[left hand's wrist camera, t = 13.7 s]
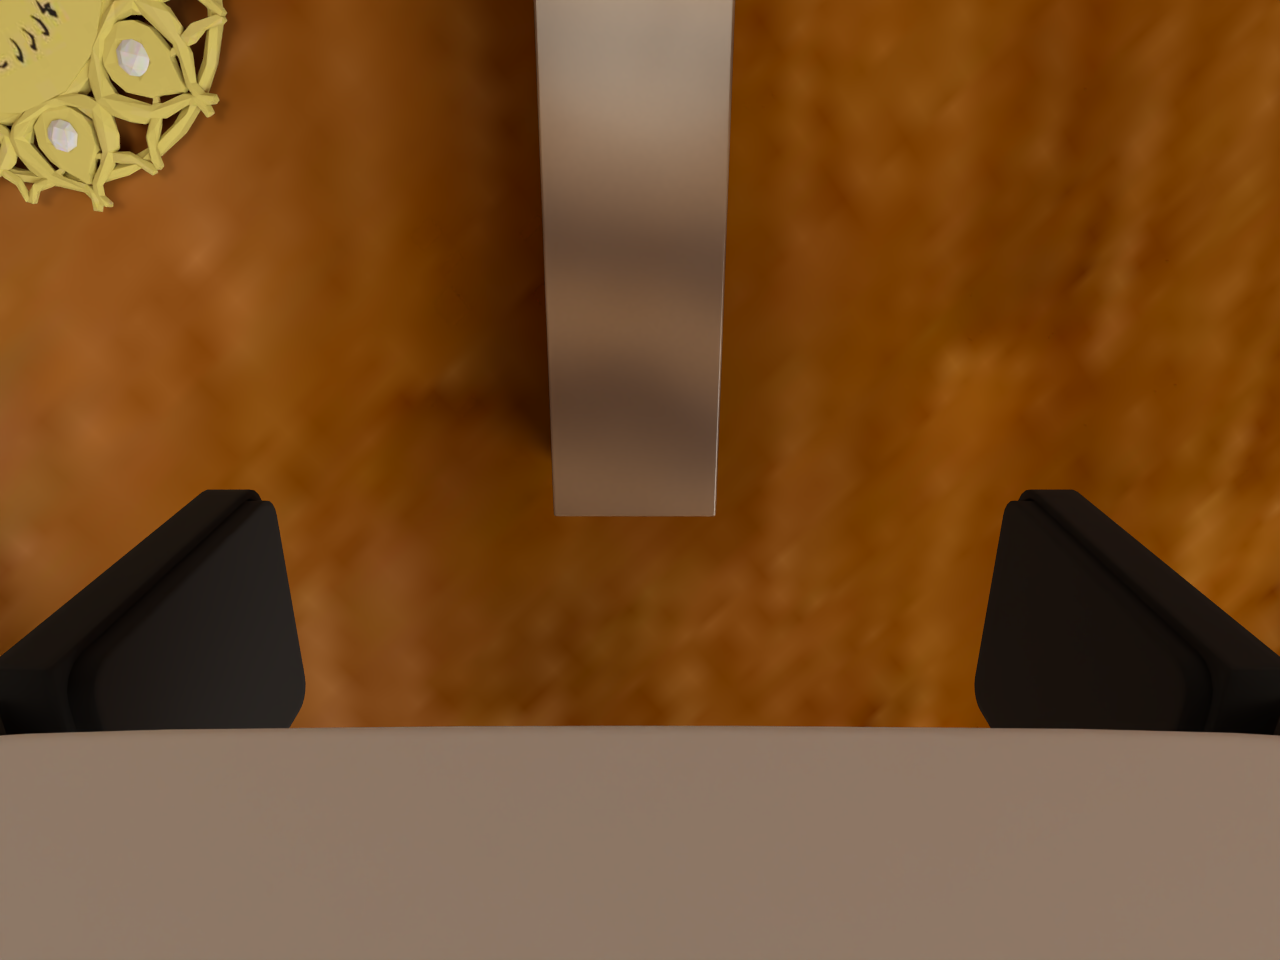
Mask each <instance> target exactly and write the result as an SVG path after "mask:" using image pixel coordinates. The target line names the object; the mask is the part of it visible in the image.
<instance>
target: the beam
mask: <svg viewBox="0 0 1280 960" xmlns="http://www.w3.org/2000/svg"><path fill="white" fill-rule="evenodd" d="M533 1H534V26H535V52H536V77H537V102H538V127H539V152H540V177H541V202H542V227H543V253H544V278H545V303H546V328H547V353H548V378H549V403H550V428H551V454H552V479H553V504H554V515H555V516H715V515H716V495H717V469H718V442H719V416H720V389H721V363H722V336H723V309H724V283H725V256H726V230H727V203H728V177H729V150H730V124H731V97H732V71H733V44H734V18H735V0H533Z"/></svg>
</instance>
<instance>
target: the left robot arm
mask: <svg viewBox="0 0 1280 960" xmlns="http://www.w3.org/2000/svg"><path fill="white" fill-rule="evenodd" d="M304 695H305V675H304V670H303V664H302V658H301V652H300V647H299V641H298V635H297V629H296V624H295V618H294V612H293V606H292V601H291V595H290V589H289V583H288V578H287V572H286V566H285V560H284V555H283V549H282V543H281V537H280V532H279V526H278V520H277V515H276V511H275V508H274V506H273V504H272V503H271V502H270V501H262V500H261V498H260V496H259V495H258V494H257V493H256V492H255V491H254V490H206V491H204V492H202V493H201V494H199V495H198V496H197V497H196V498H194V499H193V500H192V501H191V502H190V503H188V504H187V505H186V506H185V507H183V508H182V509H181V510H180V511H178V512H177V513H176V514H175V515H174V516H172V517H171V518H170V519H169V520H167V521H166V522H165V523H164V524H163V525H161V526H160V527H159V528H158V529H156V530H155V531H154V532H153V533H151V534H150V535H149V536H148V537H147V538H145V539H144V540H143V541H142V542H140V543H139V544H138V545H137V546H136V547H134V548H133V549H132V550H131V551H129V552H128V553H127V554H126V555H125V556H123V557H122V558H121V559H120V560H118V561H117V562H116V563H115V564H113V565H112V566H111V567H110V568H109V569H107V570H106V571H105V572H104V573H102V574H101V575H100V576H99V577H98V578H96V579H95V580H94V581H93V582H91V583H90V584H89V585H88V586H86V587H85V588H84V589H83V590H82V591H80V592H79V593H78V594H77V595H75V596H74V597H73V598H72V599H71V600H69V601H68V602H67V603H66V604H64V605H63V606H62V607H61V608H59V609H58V610H57V611H56V612H55V613H53V614H52V615H51V616H50V617H48V618H47V619H46V620H45V621H44V622H42V623H41V624H40V625H39V626H37V627H36V628H35V629H34V630H32V631H31V632H30V633H29V634H28V635H26V636H25V637H24V638H23V639H21V640H20V641H19V642H18V643H17V644H15V645H14V646H13V647H12V648H10V649H9V650H8V651H7V652H5V653H4V654H3V655H2V656H1V657H0V960H1280V657H1279V656H1278V655H1277V654H1276V653H1275V652H1273V651H1272V650H1271V649H1270V648H1268V647H1267V646H1266V645H1265V644H1263V643H1262V642H1261V641H1260V640H1259V639H1257V638H1256V637H1255V636H1254V635H1252V634H1251V633H1250V632H1249V631H1248V630H1246V629H1245V628H1244V627H1243V626H1241V625H1240V624H1239V623H1238V622H1236V621H1235V620H1234V619H1233V618H1232V617H1230V616H1229V615H1228V614H1227V613H1225V612H1224V611H1223V610H1222V609H1221V608H1219V607H1218V606H1217V605H1216V604H1214V603H1213V602H1212V601H1211V600H1209V599H1208V598H1207V597H1206V596H1205V595H1203V594H1202V593H1201V592H1200V591H1198V590H1197V589H1196V588H1195V587H1194V586H1192V585H1191V584H1190V583H1189V582H1187V581H1186V580H1185V579H1184V578H1182V577H1181V576H1180V575H1179V574H1178V573H1176V572H1175V571H1174V570H1173V569H1171V568H1170V567H1169V566H1168V565H1167V564H1165V563H1164V562H1163V561H1162V560H1160V559H1159V558H1158V557H1157V556H1155V555H1154V554H1153V553H1152V552H1151V551H1149V550H1148V549H1147V548H1146V547H1144V546H1143V545H1142V544H1141V543H1140V542H1138V541H1137V540H1136V539H1135V538H1133V537H1132V536H1131V535H1130V534H1129V533H1127V532H1126V531H1125V530H1124V529H1122V528H1121V527H1120V526H1119V525H1117V524H1116V523H1115V522H1114V521H1113V520H1111V519H1110V518H1109V517H1108V516H1106V515H1105V514H1104V513H1103V512H1102V511H1100V510H1099V509H1098V508H1097V507H1095V506H1094V505H1093V504H1092V503H1090V502H1089V501H1088V500H1087V499H1086V498H1084V497H1083V496H1082V495H1081V494H1079V493H1078V492H1076V491H1074V490H1026V491H1025V492H1024V493H1023V494H1021V496H1020V498H1019V500H1018V501H1010V502H1009V503H1008V504H1007V506H1006V508H1005V511H1004V515H1003V520H1002V526H1001V532H1000V537H999V543H998V549H997V555H996V560H995V566H994V572H993V578H992V583H991V589H990V595H989V601H988V606H987V612H986V618H985V624H984V629H983V635H982V641H981V647H980V652H979V658H978V664H977V670H976V675H975V695H976V700H977V704H978V706H979V708H980V710H981V712H982V714H983V716H984V717H985V719H986V721H987V722H988V724H989V726H990V727H991V728H909V727H789V726H455V727H360V728H289V727H290V726H291V724H292V722H293V721H294V719H295V717H296V716H297V714H298V712H299V710H300V708H301V706H302V704H303V700H304Z"/></svg>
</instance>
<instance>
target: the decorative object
mask: <svg viewBox="0 0 1280 960" xmlns="http://www.w3.org/2000/svg"><path fill="white" fill-rule="evenodd" d="M166 1H169V0H0V177H1V176H3V177H4V178H5V179H7V180H8V181H10V182H12V183H13V184H15V185H16V186H17V187H18V189H19V191H20V193H21V194H22V196H23V198H24V199H25V201H26V202H30V203H32V204H37V203H38V199H39V195H40V192H41V191H43V190H46V189H49V188H52V187H54V186H59V187H63V188H67V189H72V190H76V191H81V192H85V193H86V194H87V195H88V196H89V197H90V198H91V199H92V204H93V209H94V211H100V212H103V206H106V207H113V202H112V201H111V200H110V199H109V198H108V197H106V196H105V193H104V187H103V185H104V183H105V182H108V181H112V180H115V179H118V178H122V177H125V176H128V175H130V174H132V173H134V172H136V171H137V170H139V169H141V168H142V169H143V170H145V171H147V172H148V173H150V174H152V175H155V174H157V173H158V171H157V170H162V168H163V167H164V164H163V161H162V158H161V156H163V155H164V154H165V153H166V152H167V151H168V150H169V149H170V148H171V147H172V146H173V145H174V144H175V143H177V142H178V141H179V140H180V139H181V138H182V137H183V136H184V135H185V134H186V133H187V132H188V130H189V129H190V127H191V125H192V124H193V122H194V120H195V119H196V117H197V115H198V114H199V112H200V111H202V112H203V113H204V114H205V115H206V117H210V116H212V115H213V114H214V113H215V112H214V110H213V108H212V106H211V105H213V104H217V103H218V102H219V98H218V96H217V94H211V93H209V91H210V87H211V84H212V81H213V78H214V75H215V72H216V69H217V66H218V62H219V55H220V47H221V40H222V33H223V26H224V24H225V23H226V21H227V19H226V17H225V16H226V14H227V12H226V10H225V9H224V8H223V2H222V0H198V1H200V2H201V3H202V4H203V5H205V6H206V7H207V11H208V17H207V18H204V19H201V20H199V21H196V22H193V23H191V24H190V25H189V26H188V27H187V29H186V30H185V31H184V28H183V26H182V25H181V23H180V22H179V20H178V19H177V17H176V16H175V14H174V13H173V11H172V10H171V8H170V7H168V6H167V5H166V4H164V3H163V2H166ZM130 15H143V16H144V17H145V18H146V19H147V20H148V21H149V22H150V23H151V24H152V25H153V26H154V27H153V26H150V25H148V24H146V23H144V22H141V21H139V20H123V19H125V18H127V17H128V16H130ZM121 20H123V21H121ZM157 30H158V31H159V32H160V33H161V34H162V35H163V36H164V37H165V38H166V39H167V40H168V41H169V42H170V43H171V44H173V48H171V47H170V46H169V44H168V43H167V42H166V41H165V39H164V38H163V37H162V36H161V34H160V33H159V32H158V31H157ZM206 30H207V33H206V40H205V48H204V56H203V60H202V63H201V66H200V69H199V72H198V75H197V78H196V73H195V65H194V58H193V52H192V50H191V48H190V45H193V44H195V43H196V42H197V41H198V40H199V39H200V37H201V36H202V35H203V34H204V32H205V31H206ZM176 56H178V58H179V61H180V65H181V68H182V72H183V74H182V72H181V70H180V68H179V65H178V62H177V60H176ZM108 74H109V75H110V77H111V79H112V80H113V81H114V82H115V83H116V84H117V85H119V86H120V87H121V88H122V89H123V90H124V91H125V92H127V93H131V94H135V95H140V96H145V97H149V98H153V104H152V105H151V104H148V103H145V102H142V101H138V100H135V99H132V98H129V97H126V96H123V95H120V94H119V93H118V92H117V90H116V89H115V87H114V86H113V85H112V83H111V82H110V79H109V76H108ZM91 90H92V92H93V94H94V97H95V98H92V97H90V96H87V94H88V93H89V92H90V91H91ZM188 90H189V91H190V92H191V93H187V92H188ZM180 93H183V94H181V95H179V96H177V97H175V98H173V99H171V100H168V101H166V102H164V103H161V100H160V97H161V96H164V95H171V94H180ZM181 109H182V110H181ZM179 110H181V112H180V114H179V116H178V117H177V119H176V121H175V122H174V124H173V125H172V126H171V127H170V128H169V129H168V130H167V131H166V132H165V133H164V134H163V135H162V136H161V137H160V134H161V130H162V120H163V118H168V117H170V116H172V115H173V114H175V113H176V112H178V111H179ZM83 112H84V113H83ZM87 115H88V116H89V117H90V118H89V117H88V116H87ZM114 116H115V117H117V118H120V119H123V120H126V121H129V122H134V123H141V124H148V123H149V126H148V130H147V134H146V140H147V144H148V148H147V149H145V150H143V151H142V152H140V153H138V154H137V155H135V154H134V153H132V152H130V151H124V152H118V150H119V149H120V135H119V132H118V128H117V125H116V121H115V118H114ZM91 118H92V119H91ZM6 126H12V128H11V131H10V130H9V129H8V128H7V127H6ZM34 133H35V134H36V138H37V142H38V146H39V148H40V149H41V150H42V151H43V153H44V154H45V155H46V156H47V158H48V159H49V160H50V161H51V162H52V163H53V164H55V165H56V166H57V167H58V168H60V169H58V170H55V169H54V168H53V167H52V166H51V164H50V163H49V162H48V161H47V160H46V158H45V157H44V156H43V155H42V153H41V152H40V151H39V150H38V149H37V147H36V146H35V145H34ZM100 146H101V147H100ZM101 149H102V153H101ZM18 157H19V158H20V159H21V161H22V162H23V163H24V164H25V165H26V167H27V168H28V169H29V170H26V169H21V168H18V167H15V166H14V165H15V164H16V161H17V158H18ZM99 159H100V166H99V168H98V169H97V164H98V160H99ZM151 162H152V163H153V164H152V163H151ZM116 163H120V164H116ZM115 164H116V165H115ZM65 172H67V173H65ZM24 182H29V183H34V184H33V186H32V188H31V189H30V191H28V190H27V188H26V186H25V184H24ZM90 185H93V186H90Z"/></svg>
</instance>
